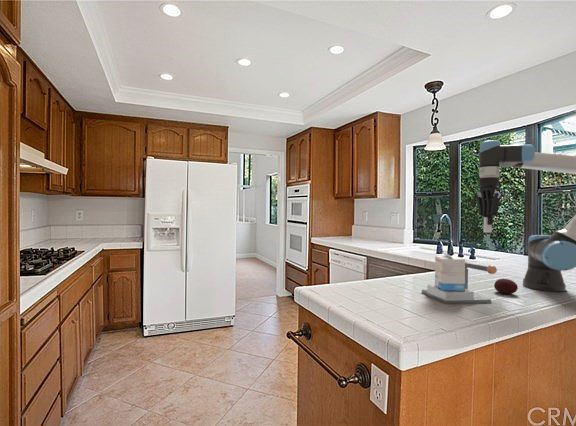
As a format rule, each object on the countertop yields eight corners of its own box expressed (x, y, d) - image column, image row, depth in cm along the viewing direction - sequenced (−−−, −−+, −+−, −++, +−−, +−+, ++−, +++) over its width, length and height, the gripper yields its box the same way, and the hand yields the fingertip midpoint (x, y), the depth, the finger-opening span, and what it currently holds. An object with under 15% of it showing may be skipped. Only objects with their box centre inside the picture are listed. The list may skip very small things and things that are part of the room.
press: (462, 291, 138) (463, 266, 137) (491, 302, 122) (491, 274, 122) (421, 292, 135) (422, 266, 135) (445, 304, 119) (446, 274, 119)
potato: (504, 296, 131) (505, 281, 131) (489, 291, 139) (489, 277, 139) (521, 296, 132) (521, 281, 132) (504, 290, 140) (505, 276, 140)
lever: (499, 274, 122) (499, 265, 122) (492, 275, 120) (492, 266, 120) (461, 267, 136) (461, 259, 136) (455, 267, 135) (455, 259, 135)
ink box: (465, 291, 121) (466, 254, 121) (441, 290, 122) (442, 254, 122) (456, 286, 130) (457, 251, 129) (434, 285, 131) (434, 251, 130)
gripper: (470, 178, 149) (469, 231, 149) (492, 175, 136) (490, 233, 136) (485, 178, 150) (484, 231, 150) (508, 176, 137) (507, 233, 137)
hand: (487, 232), depth 143 cm, fingers closed
